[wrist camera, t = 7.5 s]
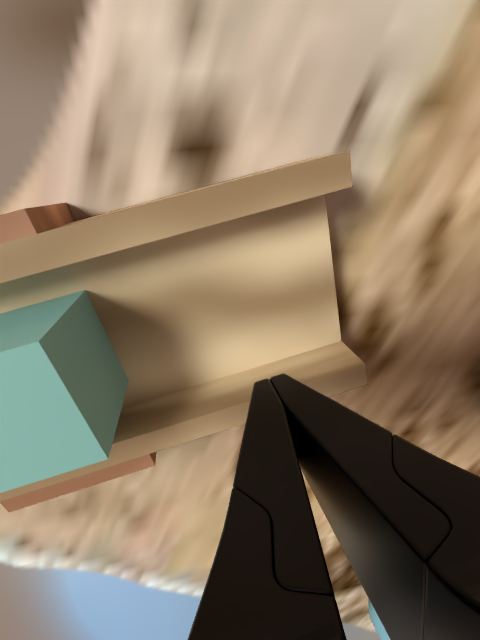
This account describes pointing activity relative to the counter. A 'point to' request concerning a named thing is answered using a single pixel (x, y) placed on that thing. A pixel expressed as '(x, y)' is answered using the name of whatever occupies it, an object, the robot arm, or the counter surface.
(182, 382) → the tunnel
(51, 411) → the block
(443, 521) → the robot arm
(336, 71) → the counter surface
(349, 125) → the counter surface
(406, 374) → the counter surface
